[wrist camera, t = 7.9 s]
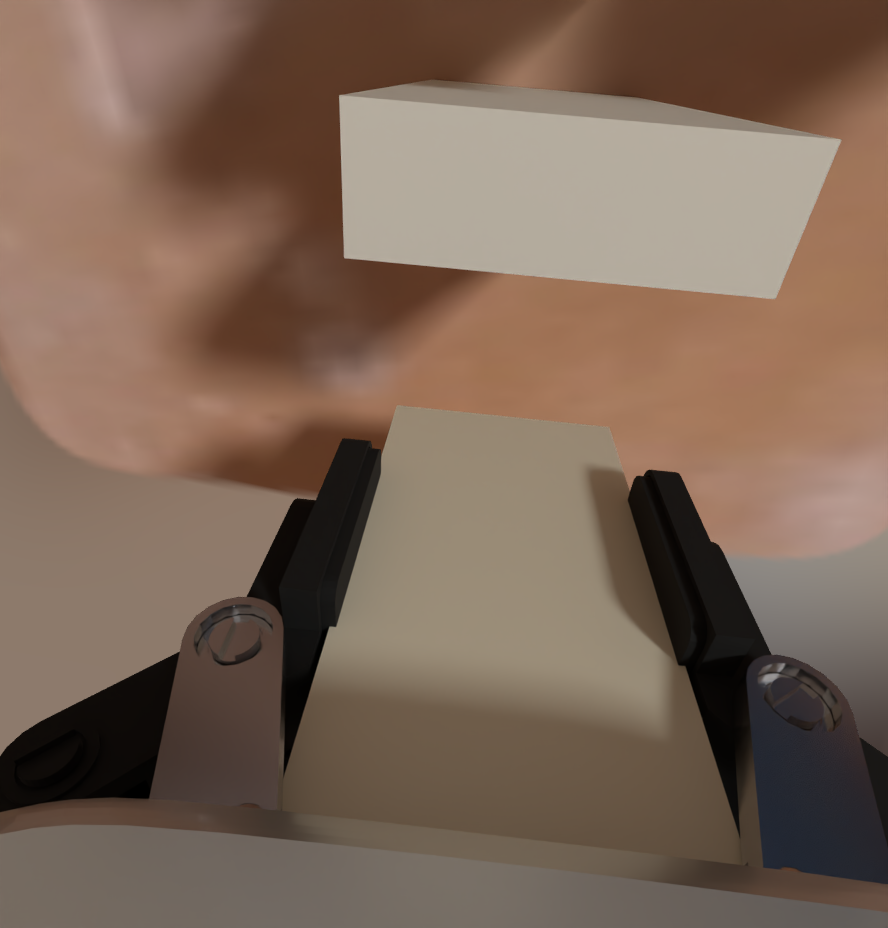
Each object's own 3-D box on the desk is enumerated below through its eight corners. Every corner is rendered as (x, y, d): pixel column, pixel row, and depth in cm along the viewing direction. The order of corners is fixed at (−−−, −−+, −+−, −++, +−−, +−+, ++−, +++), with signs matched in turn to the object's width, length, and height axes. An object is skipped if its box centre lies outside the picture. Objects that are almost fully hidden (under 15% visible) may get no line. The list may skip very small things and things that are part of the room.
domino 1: (432, 79, 14) (339, 95, 6) (637, 97, 14) (840, 140, 6) (429, 153, 15) (343, 257, 7) (620, 170, 15) (775, 298, 7)
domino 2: (396, 405, 13) (235, 934, 5) (609, 427, 13) (792, 1003, 5) (395, 460, 14) (256, 986, 6) (594, 482, 14) (727, 1045, 6)
